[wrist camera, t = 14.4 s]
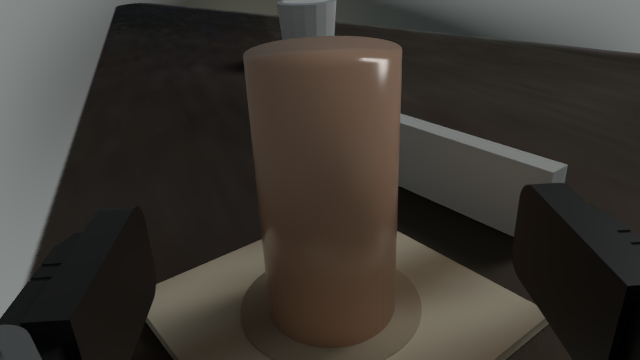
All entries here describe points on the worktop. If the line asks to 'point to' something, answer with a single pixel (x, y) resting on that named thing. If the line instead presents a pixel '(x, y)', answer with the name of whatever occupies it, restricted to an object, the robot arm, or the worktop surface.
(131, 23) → the worktop surface
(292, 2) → the shot glass
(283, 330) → the cylinder
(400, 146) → the wall
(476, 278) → the pad
